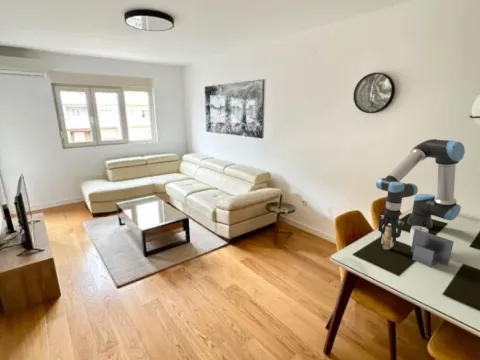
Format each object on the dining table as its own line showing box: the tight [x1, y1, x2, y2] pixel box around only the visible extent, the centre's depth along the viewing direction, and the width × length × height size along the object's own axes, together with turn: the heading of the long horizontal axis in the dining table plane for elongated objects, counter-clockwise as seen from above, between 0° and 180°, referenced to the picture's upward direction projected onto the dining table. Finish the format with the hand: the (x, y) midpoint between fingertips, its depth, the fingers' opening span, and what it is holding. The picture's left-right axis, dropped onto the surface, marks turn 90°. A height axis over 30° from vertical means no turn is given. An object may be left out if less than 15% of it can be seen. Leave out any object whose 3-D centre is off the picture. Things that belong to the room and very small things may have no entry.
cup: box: [409, 226, 430, 248], centre depth 158 cm, size 9×9×12 cm
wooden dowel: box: [382, 224, 393, 251], centre depth 156 cm, size 4×4×14 cm
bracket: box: [410, 229, 455, 268], centre depth 143 cm, size 10×18×14 cm, turn 34°
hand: (387, 244), depth 157 cm, fingers closed on wooden dowel, 4 cm apart
